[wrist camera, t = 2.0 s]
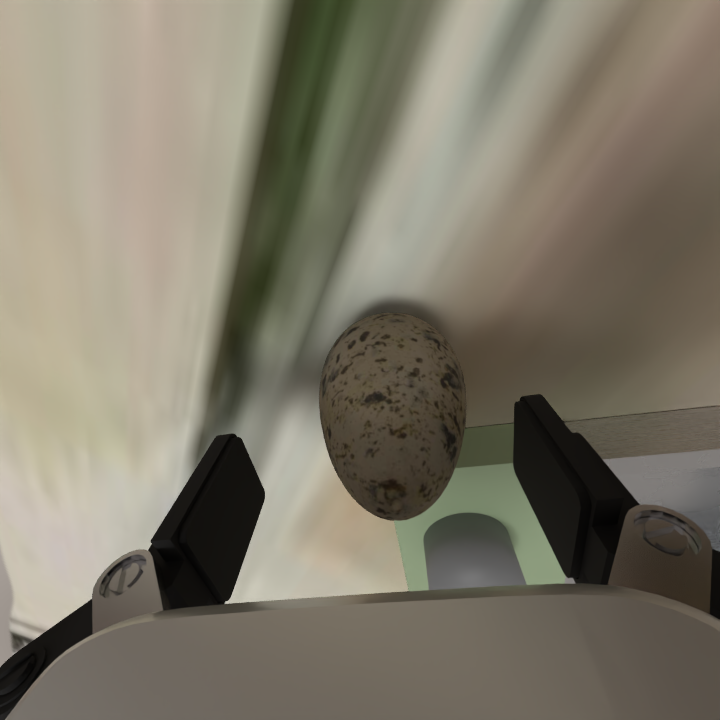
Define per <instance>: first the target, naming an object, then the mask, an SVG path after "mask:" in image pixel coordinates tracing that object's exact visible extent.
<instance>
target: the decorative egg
mask: <svg viewBox="0 0 720 720" xmlns="http://www.w3.org/2000/svg"><path fill="white" fill-rule="evenodd" d="M319 407H320V419H321V425H322V430H323V434H324V439H325V443H326V447H327V450H328V453H329V456H330V459H331V462H332V464H333V466H334V469H335V471H336V473H337V475H338V477H339V478H340V480H341V481H342V483H343V485H344V486H345V488H346V489H347V491H348V492H349V494H350V495H351V496H352V497H353V498H354V499H355V500H356V502H357V503H358V504H360V505H361V506H362V507H363V508H364V509H366V510H367V511H369V512H370V513H372V514H373V515H375V516H377V517H380V518H383V519H387V520H392V521H402V520H408V519H411V518H414V517H416V516H418V515H420V514H422V513H423V512H425V511H426V510H427V509H429V508H430V507H431V506H432V505H433V504H434V503H435V502H436V501H437V500H438V499H439V497H440V496H441V495H442V493H443V492H444V490H445V488H446V487H447V485H448V483H449V481H450V479H451V477H452V475H453V472H454V470H455V467H456V464H457V461H458V458H459V455H460V451H461V447H462V442H463V437H464V430H465V422H466V390H465V384H464V378H463V374H462V370H461V367H460V364H459V362H458V359H457V357H456V355H455V353H454V351H453V349H452V348H451V346H450V345H449V343H448V342H447V340H446V339H445V338H444V337H443V336H442V335H441V334H440V333H439V332H438V331H437V330H436V329H435V328H434V327H432V326H431V325H429V324H428V323H426V322H425V321H423V320H421V319H419V318H417V317H414V316H411V315H407V314H403V313H380V314H376V315H372V316H369V317H366V318H364V319H362V320H360V321H358V322H356V323H355V324H353V325H352V326H350V327H349V328H348V329H347V330H346V331H345V332H344V333H343V334H342V335H341V336H340V337H339V338H338V339H337V341H336V342H335V344H334V345H333V347H332V348H331V350H330V352H329V354H328V356H327V359H326V361H325V364H324V367H323V371H322V376H321V382H320V392H319Z"/></svg>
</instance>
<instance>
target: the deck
mask: <svg viewBox="0 0 720 720" xmlns="http://www.w3.org/2000/svg"><path fill="white" fill-rule="evenodd" d="M513 444H514V423H512V424H502V425H493V426H483V427H474V428H465V430H464V437H463V442H462V447H461V451H460V455H459V458H458V461H457V464H456V467H455V470H454V472H453V475H452V477H451V479H450V481H449V483H448V485H447V487H446V488H445V490H444V492H443V493H442V495H441V496H440V497H439V499H438V500H437V501H436V502H435V503H434V504H433V505H432V506H431V507H430V508H429V509H427V510H426V511H425V512H423V513H422V514H420V515H418V516H416V517H414V518H411V519H408V520H402V521H394V523H395V528H396V533H397V537H398V542H399V547H400V552H401V556H402V561H403V566H404V571H405V575H406V580H407V585H408V590H409V591H423V590H440V589H456V588H473V587H489V586H510V585H533V584H564V583H565V577H566V576H565V574H564V573H563V571H562V569H561V567H560V565H559V563H558V561H557V558H556V556H555V554H554V552H553V550H552V548H551V546H550V544H549V542H548V540H547V538H546V536H545V534H544V532H543V530H542V528H541V526H540V524H539V522H538V519H537V517H536V515H535V513H534V511H533V509H532V507H531V505H530V503H529V501H528V499H527V497H526V495H525V493H524V491H523V489H522V487H521V485H520V483H519V480H518V478H517V476H516V474H515V471H514V467H513Z"/></svg>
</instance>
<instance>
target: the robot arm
mask: <svg viewBox="0 0 720 720" xmlns="http://www.w3.org/2000/svg"><path fill="white" fill-rule="evenodd" d="M513 467H514V471H515V474H516V476H517V478H518V480H519V483H520V485H521V487H522V489H523V491H524V493H525V495H526V497H527V499H528V501H529V503H530V505H531V507H532V509H533V511H534V513H535V515H536V517H537V519H538V522H539V524H540V526H541V528H542V530H543V532H544V534H545V536H546V538H547V540H548V542H549V544H550V546H551V548H552V550H553V552H554V554H555V556H556V558H557V561H558V563H559V565H560V567H561V569H562V571H563V573H564V574H565V576H566V577H567V578H573V579H574V581H575V583H576V584H533V585H510V586H489V587H473V588H456V589H440V590H423V591H407V592H392V593H376V594H361V595H346V596H331V597H316V598H302V599H288V600H274V601H260V602H246V603H233V604H225V601H228V600H229V599H230V597H231V595H232V592H233V589H234V586H235V584H236V581H237V578H238V575H239V572H240V569H241V566H242V563H243V561H244V558H245V555H246V552H247V549H248V546H249V543H250V540H251V537H252V535H253V532H254V529H255V526H256V523H257V520H258V517H259V514H260V511H261V509H262V506H263V503H264V499H265V491H264V488H263V486H262V484H261V482H260V479H259V477H258V475H257V473H256V470H255V468H254V466H253V464H252V461H251V459H250V457H249V454H248V452H247V450H246V448H245V445H244V443H243V441H242V439H241V438H240V437H237V436H236V435H235V434H226V435H218V436H216V438H215V439H214V440H213V442H212V444H211V445H210V447H209V448H208V450H207V452H206V453H205V455H204V456H203V458H202V460H201V461H200V463H199V464H198V466H197V468H196V469H195V471H194V472H193V474H192V476H191V477H190V479H189V480H188V482H187V484H186V485H185V487H184V488H183V490H182V492H181V493H180V495H179V496H178V498H177V500H176V501H175V503H174V504H173V506H172V508H171V509H170V511H169V512H168V514H167V516H166V517H165V519H164V520H163V522H162V524H161V525H160V527H159V528H158V530H157V531H156V533H155V535H154V536H153V538H152V539H151V543H152V545H151V546H150V548H149V550H148V551H147V550H135V551H131V552H129V553H127V554H125V555H123V556H121V557H120V558H118V559H117V560H116V561H114V562H113V563H112V564H111V565H110V566H109V567H108V568H107V569H106V570H105V571H104V572H103V573H102V574H101V576H100V577H99V578H98V580H97V582H96V584H95V586H94V588H93V594H92V599H91V600H90V601H88V602H87V603H86V604H84V605H83V606H81V607H80V608H79V609H77V610H76V611H74V612H73V613H71V614H70V615H69V616H67V617H66V618H64V619H63V620H62V621H60V622H59V623H57V624H56V625H54V626H53V627H52V628H50V629H49V630H47V631H46V632H45V633H43V634H42V635H40V636H39V637H38V638H36V639H35V640H33V641H32V642H30V643H29V644H28V645H26V646H25V647H23V648H22V649H21V650H19V651H18V652H17V653H15V654H14V655H13V656H12V657H10V658H9V659H8V660H7V661H6V662H5V663H4V664H3V665H2V666H1V667H0V720H720V552H719V551H717V550H715V549H712V546H711V542H710V540H709V538H708V537H707V535H706V534H705V532H704V531H703V530H702V529H701V528H700V527H699V526H698V525H697V524H696V523H695V522H693V521H692V520H690V519H689V518H687V517H686V516H684V515H683V514H681V513H678V512H676V511H674V510H672V509H669V508H665V507H662V506H658V505H648V504H645V505H640V504H639V503H638V502H637V501H636V499H635V498H634V497H633V496H632V495H631V493H630V492H629V491H628V490H627V488H626V487H625V486H624V485H623V484H622V482H621V481H620V480H619V479H618V478H617V476H616V475H615V474H614V473H613V472H612V470H611V469H610V468H609V467H608V466H607V464H606V463H605V462H604V461H603V460H602V458H601V457H600V456H599V455H598V453H597V452H596V451H595V450H594V449H593V447H592V446H591V445H590V444H589V443H588V441H587V440H586V439H585V438H584V437H583V436H582V435H581V434H580V433H577V432H576V433H572V432H571V431H570V430H569V428H568V427H567V426H566V425H565V423H564V422H563V421H562V420H561V418H560V417H559V416H558V415H557V413H556V412H555V411H554V410H553V408H552V407H551V406H550V405H549V403H548V402H547V401H546V399H545V398H544V397H543V396H542V395H541V394H537V395H529V396H522V397H521V398H520V401H518V402H515V406H514V444H513Z"/></svg>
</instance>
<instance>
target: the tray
mask: <svg viewBox="0 0 720 720" xmlns="http://www.w3.org/2000/svg"><path fill="white" fill-rule="evenodd" d="M564 423H565V425H566V426H567V427H568V428H569V430H570V431H571V432H572V433H576V432H577V433H580V434H581V435H582V436H583V437H584V438H585V439H586V440H587V441H588V443H589V444H590V445H591V446H592V447H593V449H594V450H595V451H596V452H597V453H598V455H599V456H600V457H601V458H602V460H603V461H604V462H605V463H606V464H607V466H608V467H609V468H610V469H611V470H612V472H613V473H614V474H615V475H616V476H617V478H618V479H619V480H620V481H621V482H622V484H623V485H624V486H625V487H626V488H627V490H628V491H629V492H630V493H631V495H632V496H633V497H634V498H635V499H636V501H637V502H638V503H639V504H640V505H645V504H648V505H658V506H662V507H665V508H669V509H672V510H674V511H676V512H678V513H681V514H683V515H684V516H686V517H687V518H689V519H690V520H692V521H693V522H695V523H696V524H697V525H698V526H699V527H700V528H701V529H702V530H703V531H704V532H705V534H706V535H707V537H708V538H709V540H710V542H711V546H712V549H715V550H717V551H719V552H720V406H715V407H705V408H695V409H686V410H676V411H666V412H657V413H647V414H637V415H628V416H618V417H609V418H599V419H589V420H580V421H570V422H564ZM564 584H576V583H575V581H574V579H573V578H567V577H565V583H564Z"/></svg>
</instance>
